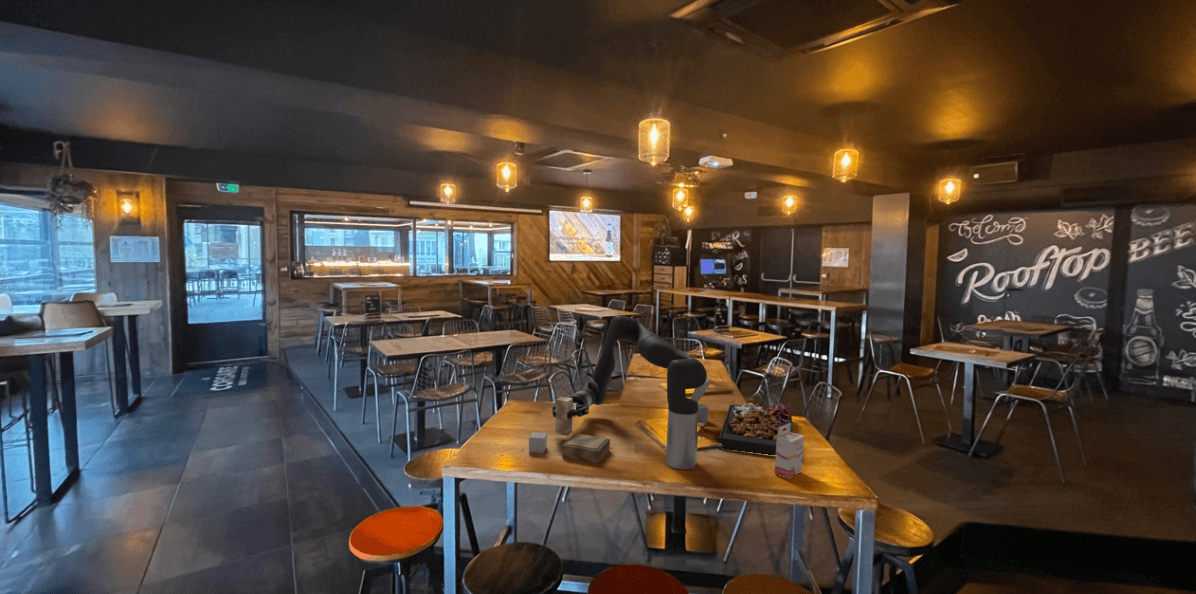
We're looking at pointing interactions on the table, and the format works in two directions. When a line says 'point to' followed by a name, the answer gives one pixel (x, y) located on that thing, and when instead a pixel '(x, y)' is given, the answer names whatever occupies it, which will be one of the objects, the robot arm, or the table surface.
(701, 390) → the phone holder
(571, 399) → the oak block
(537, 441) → the stone cube
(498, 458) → the table surface
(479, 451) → the table surface
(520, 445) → the table surface
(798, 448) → the ink cartridge box
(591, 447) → the walnut riser
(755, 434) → the food platter
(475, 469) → the table surface
